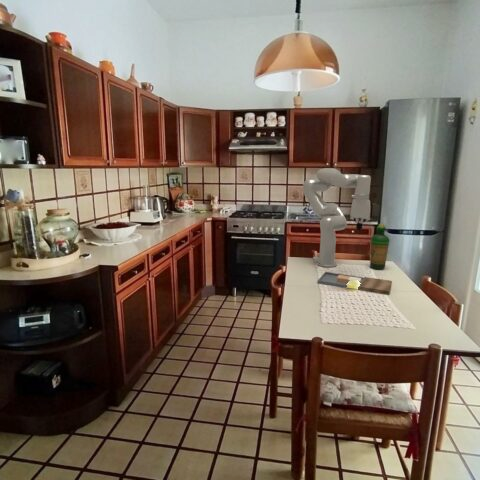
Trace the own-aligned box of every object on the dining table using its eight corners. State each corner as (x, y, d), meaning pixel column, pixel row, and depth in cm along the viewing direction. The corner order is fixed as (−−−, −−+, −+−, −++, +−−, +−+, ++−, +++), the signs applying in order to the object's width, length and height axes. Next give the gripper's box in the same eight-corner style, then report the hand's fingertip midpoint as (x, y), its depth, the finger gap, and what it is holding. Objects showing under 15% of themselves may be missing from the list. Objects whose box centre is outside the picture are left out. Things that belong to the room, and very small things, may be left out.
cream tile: (347, 283, 184) (348, 279, 183) (349, 280, 189) (350, 276, 188) (359, 285, 181) (360, 281, 180) (361, 282, 186) (361, 278, 186)
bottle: (367, 269, 213) (371, 224, 207) (369, 264, 222) (373, 222, 216) (385, 271, 208) (390, 226, 202) (387, 267, 217) (391, 223, 211)
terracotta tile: (336, 282, 186) (336, 277, 186) (338, 279, 192) (338, 274, 191) (347, 283, 184) (348, 279, 183) (349, 280, 189) (350, 276, 188)
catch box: (317, 283, 185) (317, 280, 185) (325, 274, 201) (325, 271, 201) (359, 290, 176) (360, 287, 175) (364, 280, 191) (364, 277, 191)
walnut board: (359, 290, 176) (360, 286, 175) (364, 280, 191) (364, 276, 191) (389, 295, 169) (389, 291, 169) (391, 284, 185) (391, 280, 185)
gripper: (346, 197, 190) (344, 229, 193) (375, 198, 183) (372, 232, 187) (349, 196, 196) (346, 227, 200) (376, 197, 190) (373, 230, 193)
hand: (358, 230), depth 193 cm, fingers closed
